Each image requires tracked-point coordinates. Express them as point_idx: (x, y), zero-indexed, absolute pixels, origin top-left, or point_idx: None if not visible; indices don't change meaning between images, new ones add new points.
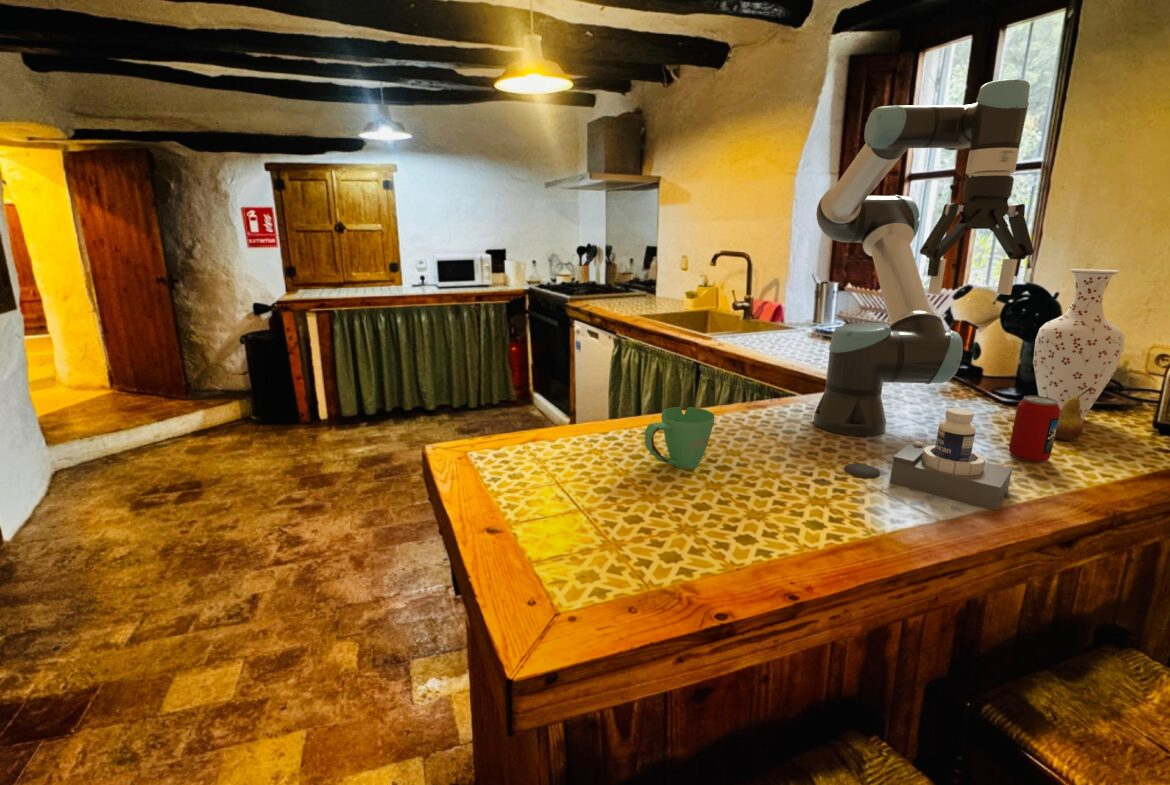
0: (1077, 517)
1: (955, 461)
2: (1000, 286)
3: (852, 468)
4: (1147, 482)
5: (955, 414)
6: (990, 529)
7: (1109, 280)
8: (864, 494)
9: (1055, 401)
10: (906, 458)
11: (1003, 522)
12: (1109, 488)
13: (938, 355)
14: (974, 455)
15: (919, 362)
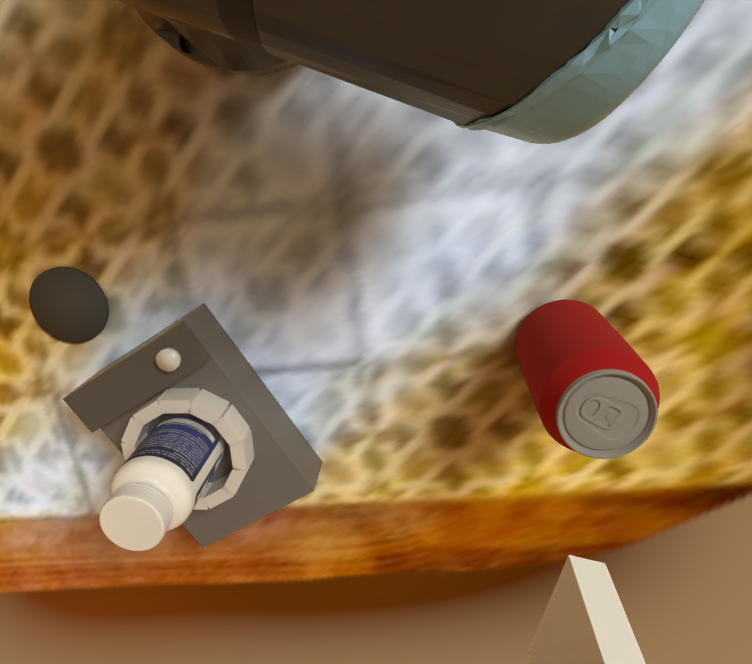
0: (339, 568)
1: None
2: (575, 631)
3: (47, 295)
4: (658, 514)
5: (106, 532)
6: (155, 556)
7: None
8: (15, 401)
9: (640, 438)
10: (86, 416)
11: (196, 547)
12: (539, 511)
13: (440, 107)
14: (232, 469)
15: (348, 82)
